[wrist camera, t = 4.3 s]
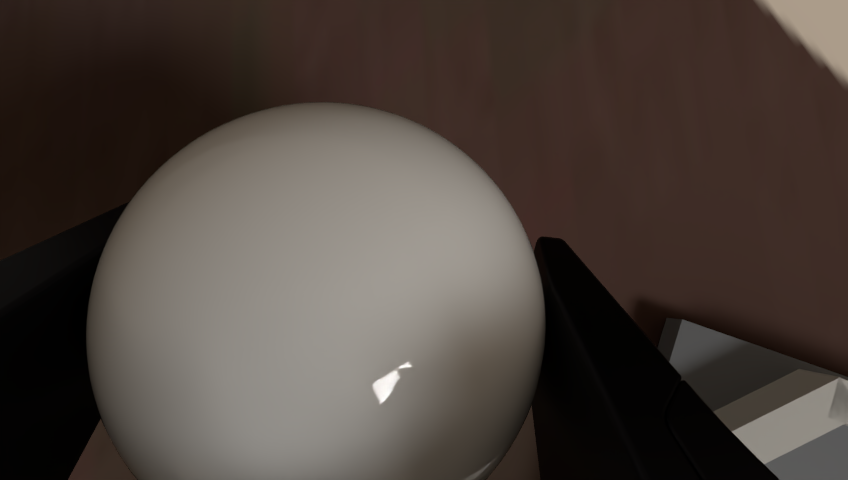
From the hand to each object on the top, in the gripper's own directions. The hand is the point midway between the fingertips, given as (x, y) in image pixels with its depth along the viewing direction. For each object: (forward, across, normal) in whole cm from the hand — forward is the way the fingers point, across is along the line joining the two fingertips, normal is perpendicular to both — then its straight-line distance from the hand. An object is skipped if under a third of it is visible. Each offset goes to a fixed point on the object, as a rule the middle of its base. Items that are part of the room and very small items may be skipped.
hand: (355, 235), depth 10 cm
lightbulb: (+4, 0, +6) cm, 7 cm away
